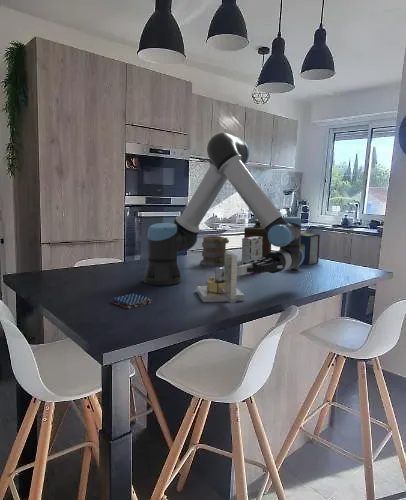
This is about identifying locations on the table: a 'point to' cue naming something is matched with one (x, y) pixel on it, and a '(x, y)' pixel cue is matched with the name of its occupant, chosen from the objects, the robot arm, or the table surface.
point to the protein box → (310, 248)
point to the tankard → (214, 251)
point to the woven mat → (131, 300)
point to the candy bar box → (251, 249)
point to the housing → (214, 296)
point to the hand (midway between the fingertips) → (238, 270)
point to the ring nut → (226, 279)
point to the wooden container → (259, 232)
